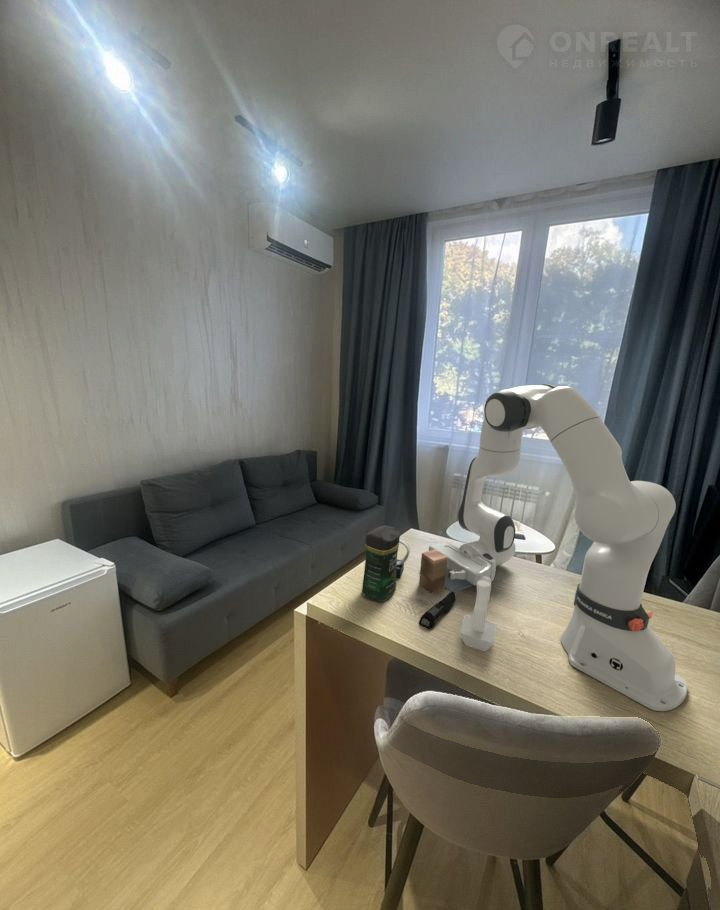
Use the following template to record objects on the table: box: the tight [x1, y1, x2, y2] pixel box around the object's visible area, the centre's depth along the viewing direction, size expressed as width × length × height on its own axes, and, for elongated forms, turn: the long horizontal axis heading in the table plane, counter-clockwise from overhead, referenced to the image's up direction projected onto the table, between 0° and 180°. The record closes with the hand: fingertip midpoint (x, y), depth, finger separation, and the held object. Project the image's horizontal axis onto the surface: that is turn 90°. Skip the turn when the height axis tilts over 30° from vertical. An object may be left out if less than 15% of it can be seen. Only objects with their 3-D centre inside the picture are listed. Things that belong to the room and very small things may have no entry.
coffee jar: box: [361, 524, 401, 602], centre depth 100 cm, size 10×8×19 cm
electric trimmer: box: [418, 591, 457, 630], centre depth 95 cm, size 4×15×3 cm, turn 140°
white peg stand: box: [458, 576, 498, 653], centre depth 83 cm, size 7×9×15 cm
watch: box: [396, 537, 411, 580], centre depth 112 cm, size 6×8×11 cm
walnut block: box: [418, 550, 447, 595], centre depth 105 cm, size 5×5×10 cm
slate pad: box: [444, 567, 474, 593], centre depth 112 cm, size 12×14×1 cm
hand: (437, 568), depth 106 cm, fingers open, 8 cm apart
